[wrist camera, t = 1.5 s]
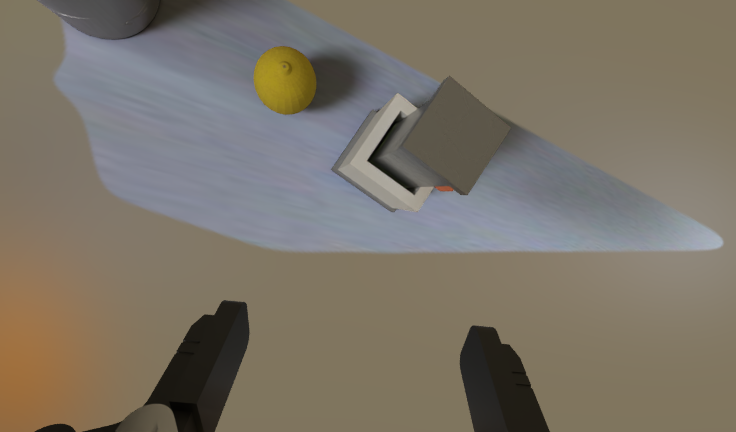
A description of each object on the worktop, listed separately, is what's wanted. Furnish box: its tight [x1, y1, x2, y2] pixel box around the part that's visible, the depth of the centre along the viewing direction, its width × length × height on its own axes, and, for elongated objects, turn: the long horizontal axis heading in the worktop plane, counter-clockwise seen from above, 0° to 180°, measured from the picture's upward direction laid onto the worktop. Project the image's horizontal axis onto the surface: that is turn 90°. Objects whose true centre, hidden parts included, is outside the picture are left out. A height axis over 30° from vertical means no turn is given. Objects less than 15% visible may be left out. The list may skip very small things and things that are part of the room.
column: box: [367, 76, 511, 195], centre depth 28 cm, size 5×5×17 cm
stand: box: [331, 93, 454, 212], centre depth 32 cm, size 8×8×12 cm
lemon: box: [254, 46, 316, 115], centre depth 31 cm, size 6×6×8 cm
